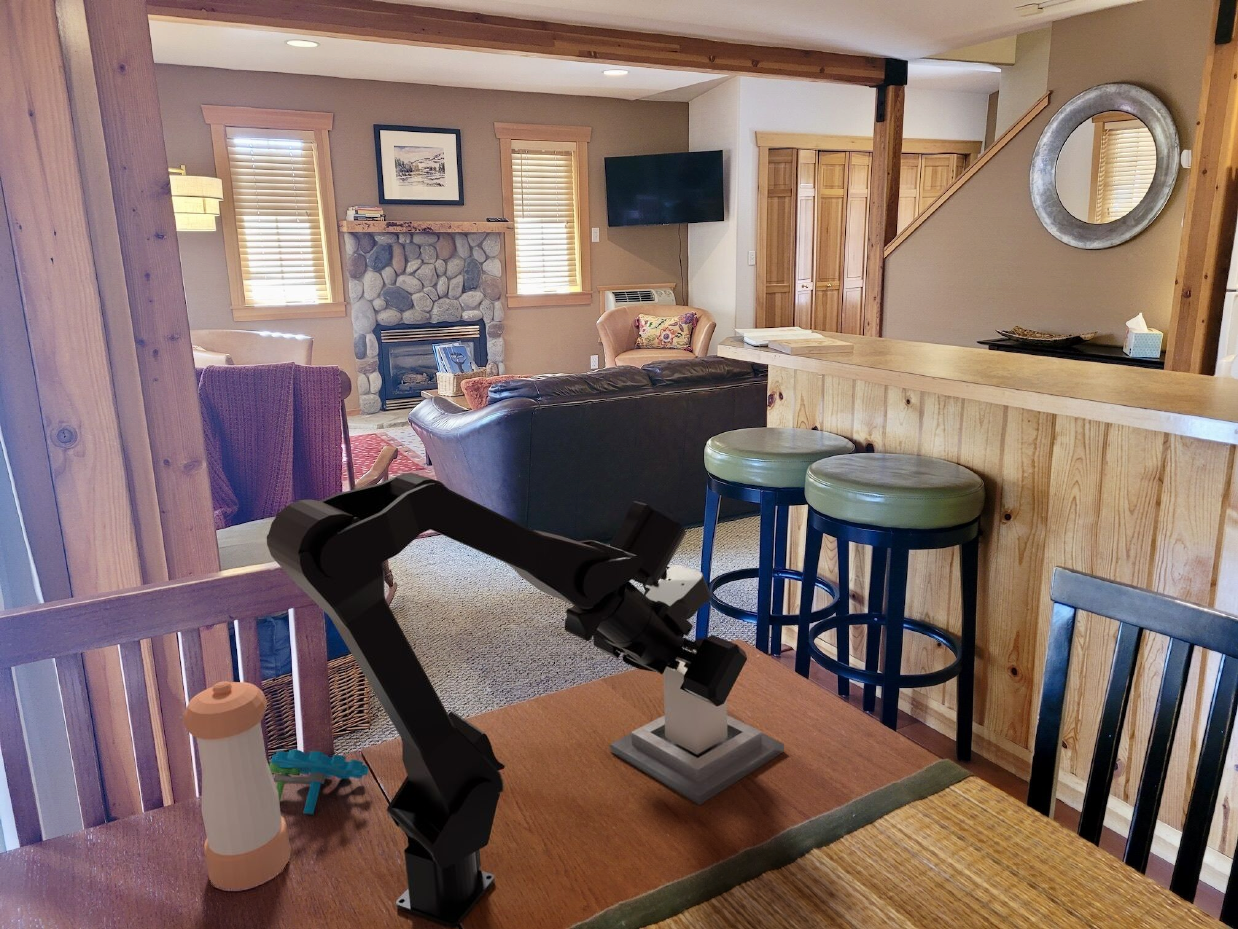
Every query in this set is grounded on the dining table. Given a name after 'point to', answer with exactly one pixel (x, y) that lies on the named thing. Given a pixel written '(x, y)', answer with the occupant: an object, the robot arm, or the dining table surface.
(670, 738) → the square block
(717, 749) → the locating plate
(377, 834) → the dining table surface
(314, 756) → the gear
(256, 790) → the pepper shaker
